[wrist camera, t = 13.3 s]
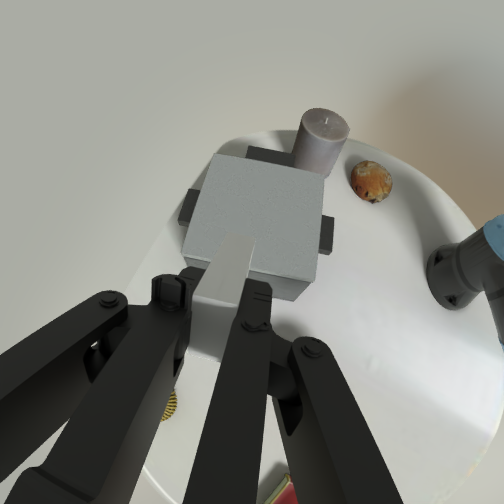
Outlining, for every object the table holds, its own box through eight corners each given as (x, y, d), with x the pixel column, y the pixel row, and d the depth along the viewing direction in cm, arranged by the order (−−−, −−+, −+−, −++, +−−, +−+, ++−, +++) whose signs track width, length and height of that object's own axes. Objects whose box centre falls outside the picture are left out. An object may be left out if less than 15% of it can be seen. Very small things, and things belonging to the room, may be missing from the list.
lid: (323, 166, 47) (325, 161, 46) (312, 282, 39) (314, 280, 38) (219, 145, 47) (218, 140, 46) (182, 256, 39) (180, 252, 38)
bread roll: (381, 192, 66) (395, 166, 60) (385, 213, 58) (401, 184, 53) (346, 177, 66) (358, 149, 61) (346, 196, 59) (360, 164, 54)
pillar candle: (287, 148, 64) (299, 100, 50) (327, 151, 64) (345, 106, 50) (291, 181, 60) (306, 134, 46) (334, 184, 61) (357, 139, 47)
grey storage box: (319, 218, 57) (337, 184, 46) (309, 304, 50) (330, 286, 39) (203, 194, 57) (198, 156, 46) (178, 277, 51) (164, 252, 39)
